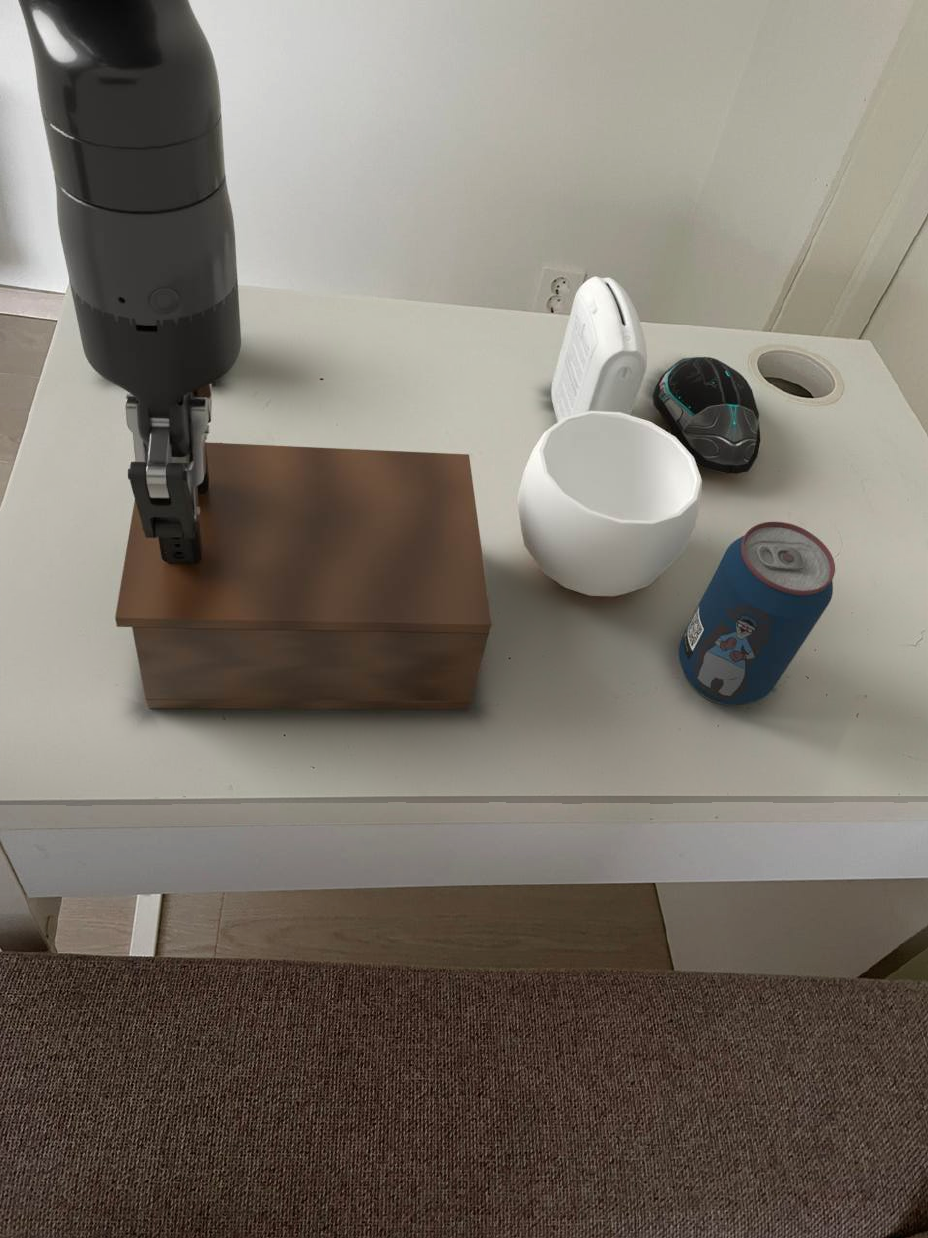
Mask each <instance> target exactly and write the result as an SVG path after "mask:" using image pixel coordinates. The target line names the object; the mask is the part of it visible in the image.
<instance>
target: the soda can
mask: <svg viewBox="0 0 928 1238" xmlns="http://www.w3.org/2000/svg"><path fill="white" fill-rule="evenodd" d="M835 574H836V564H835V560H834V557H833V555H832V553H831V552H830V550H829V548H828V547H827V545H825V544H824V542H823V541H821V540H820V538H818V536H816V535H814V534H813V533H811V532H810V531H808V530H806V529H804V528H803V527H800V526H798V525H797V524H792V523H789V522H785V521H784V522H783V521H767V522H765V521H764V522H761V523H758V524H756V525H753V526H752V527H751V528H750V529H748V530H747V531H746V533H745V534H744V535H742V536H740V537H739V538H736V539H735V540H733V541H732V542H731V543H730V545H728V546H727V548H726V549H725V551H724V553H723V555H722V558H721V559H720V561H719V563H718V565H717V567H716V569H715V572H713V575H712V577H711V579H710V581H709V583H708V585H707V588H706V589H705V591H704V593H703V595H702V597H701V599H700V601H699V603H698V605H697V607H696V609H695V610H694V613H693V614H692V617H691V618H690V620H689V622H688V624H687V627H686V628H685V631H684V632H683V634H682V636H681V638H680V641H679V645H678V658H679V659H678V660H679V663H680V666H681V669H682V672H683V674H684V677H685V678H686V680H687V682H688V683H689V685H690V686H691V688H692V689H693V690H694V691H695V692H697V694H699V695H700V696H702V698H705V699H706V700H709V701H711V702H713V703H715V704H719V705H723V706H741V705H747V704H751V703H754V702H757V701H760V700H762V699H764V698H766V697H767V696H768V695H769V694H771V692H772V691H773V690H774V689H775V687H776V686H777V684H778V682H779V681H780V680H781V678H782V676H783V674H784V673H785V672H786V670H787V669H788V667H789V665H790V664H791V663H792V661H793V659H794V658H795V656H796V655H797V653H798V652H799V650H800V649H801V647H802V646H803V644H804V643H805V642H806V639H807V638H808V636H809V635H810V634H811V632H812V631H813V629H814V627H815V626H816V625H817V623H818V622H819V620H820V619H821V617H822V615H823V614H824V612H825V610H826V609H827V608H828V607H829V604H830V603H831V601H832V599H833V594H834V592H833V591H834V582H833V580H834V577H835Z"/></svg>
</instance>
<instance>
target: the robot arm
mask: <svg viewBox="0 0 928 1238" xmlns="http://www.w3.org/2000/svg"><path fill="white" fill-rule="evenodd" d="M17 1H18V5H19V7H20V9H21V13H22V16H23V19H24V22H25V26H26V27H25V28H26V30H27V34H28V38H29V43H30V47H31V53H32V57H33V62H34V69H35V77H36V84H37V85H36V86H37V88H36V89H37V93H38V100H39V107H40V112H41V116H42V121H43V126H44V131H45V136H46V141H47V147H48V152H49V157H50V163H51V166H52V171H53V176H54V184H55V193H56V212H57V213H56V214H57V215H56V216H57V225H58V232H59V237H60V242H61V247H62V251H63V256H64V260H65V261H64V262H65V266H66V270H67V276H68V281H69V285H70V286H69V287H70V291H71V296H72V301H73V306H74V310H75V316H76V320H77V325H78V330H79V336H80V340H81V345H82V349H83V353H84V355H85V358H86V360H87V362H88V363H89V365H90V366H91V367H92V369H93V370H94V371H95V372H96V373H97V374H98V375H99V376H100V377H102V378H103V379H105V380H106V381H108V382H109V383H111V384H113V385H115V386H118V387H119V388H120V389H123V390H124V391H126V392H127V393H126V394H125V416H126V426H127V428H128V430H129V431H130V432H131V434H132V439H133V450H134V461H131V462H130V464H129V468H128V470H127V479H128V480H129V483H130V487H131V490H132V494H133V498H134V501H136V505H137V508H138V512H139V516H140V519H141V523H142V528H143V531H144V533H145V537H146V538H156V537H158V539H159V545H160V551H161V557H162V559H163V561H165V562H167V563H177V564H196V563H199V562H200V561H201V559H202V542H201V533H200V525H199V516H201V507H198V493H205V492H206V491H208V488H209V472H208V462H207V452H206V441H207V439H208V435H209V434H210V423H211V422H212V411H213V398H212V386H213V385H212V383H213V382H215V381H219V380H220V379H221V378H223V377H224V376H225V375H226V374H227V373H228V372H230V371H231V369H232V368H233V366H234V365H235V364H236V362H237V360H238V358H239V356H240V353H241V348H242V332H241V317H240V313H241V312H240V297H239V282H238V281H239V280H238V268H237V267H238V266H237V249H236V247H237V246H236V231H235V221H234V214H233V208H232V202H231V199H230V194H229V190H228V183H227V176H226V165H225V151H224V149H225V148H224V135H223V134H224V133H223V118H222V99H221V89H220V80H219V75H218V70H217V65H216V61H215V58H214V54H213V51H212V48H211V46H210V43H209V41H208V38H207V37H206V35H205V32H204V30H203V28H202V26H201V24H200V23H199V20H198V18H197V17H196V15H195V13H194V11H193V8H192V6H191V3H190V0H17ZM215 383H216V382H215ZM148 448H149V450H148ZM188 454H190V459H189V463H172V457H185V456H187V455H188Z"/></svg>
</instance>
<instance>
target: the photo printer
mask: <svg viewBox="0 0 928 1238" xmlns="http://www.w3.org/2000/svg"><path fill="white" fill-rule="evenodd" d="M565 329H566V330H565V333H564V337H563V341H562V345H561V348H560V352H559V356H558V359H557V363H556V367H555V371H554V374H553V378H552V383H551V391H550V394H551V395H550V396H551V402H552V406H553V410H554V414H555V419H556V421H557V422H559V421H560V420H561V419H563V418H564V417H568V416H572V415H576V414H580V413H584V412H588V411H603V412H621V413H624V414H627V415H631V416H632V413H633V409H634V406H635V404H636V401H637V398H638V395H639V393H640V389H641V387H642V383H643V381H644V377H645V375H646V373H647V367H648V365H647V364H648V351H647V344H646V338H645V334H644V331H643V327H642V325H641V321H640V318H639V315H638V312H637V310H636V308H635V305H634V304H633V301H632V299H631V297H630V296H629V294H628V293H627V292H626V290H625V289H624V288H623V287H622V286H621V284H619V283H618V282H617V281H616V280H614V279H613V278H611V277H610V276H608V277H599V276H595V275H594V276H592V277H591V278H589V279H587V280H585V282H583V283H582V284H581V285H580V287H579V288H578V290H577V291H576V293H575V296H574V299H573V303H572V306H571V310H570V314H569V318H568V322H567V326H566V328H565ZM557 422H556V423H557Z"/></svg>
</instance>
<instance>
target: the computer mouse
mask: <svg viewBox="0 0 928 1238" xmlns="http://www.w3.org/2000/svg"><path fill="white" fill-rule="evenodd" d="M652 400H653V406H654V407H655V408H656V409H657V411H658V412H659V413H660V415H661V416H662V418H663V420H664V421H665V423H666V425H667V427H668V429H669V431H670V432H671V433H672V435H673V436H675V437H676V438H677V439H678V440H679V441H680V443H681V444H682V445H683V446H684V447H685V448H686V449H687V450H688V451H689V453H690V454H691V455H692V456H693V457H694V459H695V462H696V465H697V466H699V467H700V468H703V469H706V470H709V471H714V472H716V473H717V472H718V473H721V474H730V475H739V474H743V473H748V472H750V470H751V468H752V466H753V464H754V463H755V462H756V460H757V459H758V455H759V450H760V446H761V440H762V439H761V438H762V437H761V429H760V412H759V409H758V407H757V402H756V400H755V396H754V392H753V389H752V388H751V385H750V383H748V380H747V379H746V378H745V377H744V376H743V375H742V374H741V373H740V372H738V371H737V370H736V369H734V368H732V367H731V366H729V365H728V364H726V363H725V362H723V361H721V360H719V359H718V358H713V357H709V356H694V357H684V358H681V359H680V360H678V361H677V362H675V363H674V364H672V365H671V366H670V367H669V368H668V369H667V370H665V372H664V373H663V374H662V375H661V377H660V378H659V380H658V381H657V383H656V385H655V387H654V390H653V393H652Z"/></svg>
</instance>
